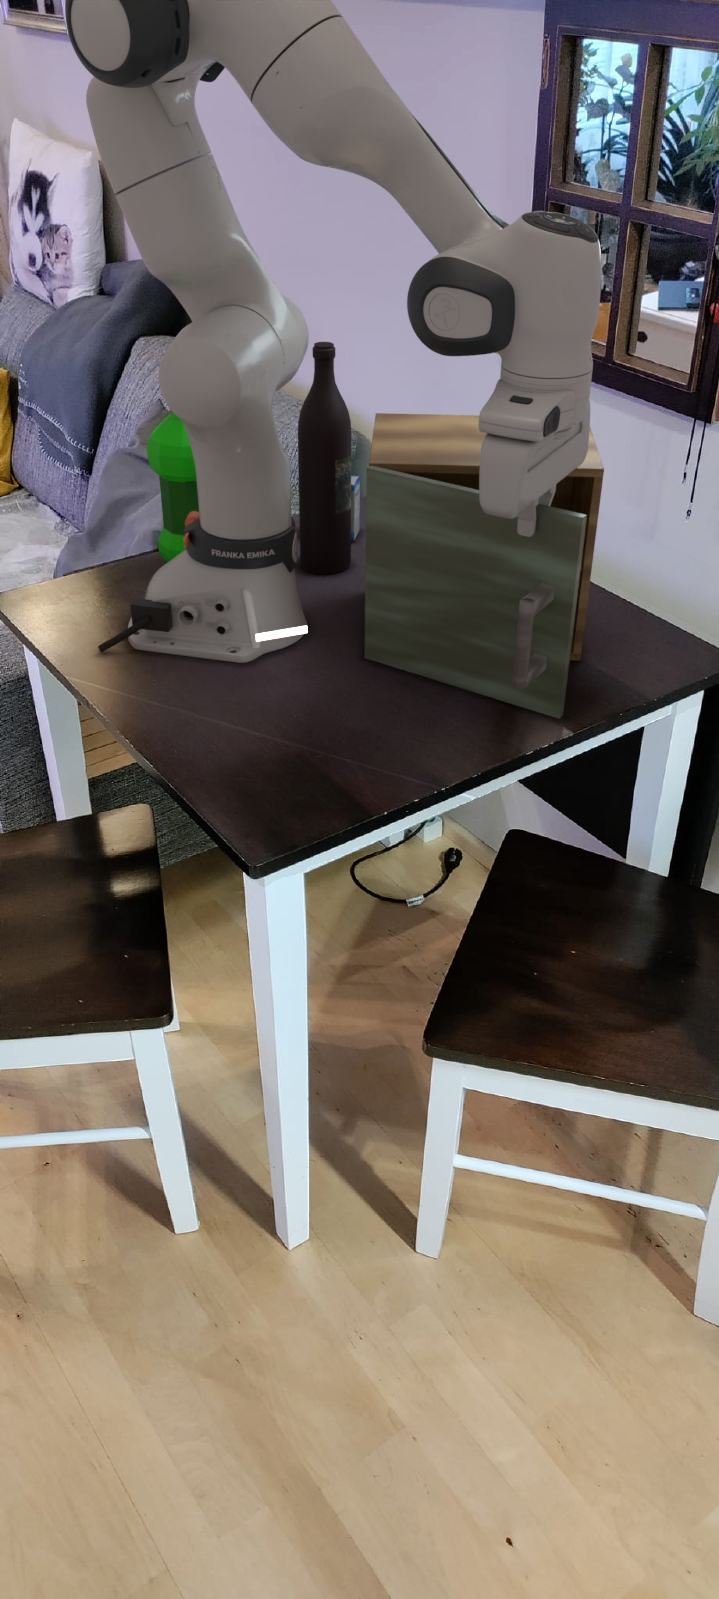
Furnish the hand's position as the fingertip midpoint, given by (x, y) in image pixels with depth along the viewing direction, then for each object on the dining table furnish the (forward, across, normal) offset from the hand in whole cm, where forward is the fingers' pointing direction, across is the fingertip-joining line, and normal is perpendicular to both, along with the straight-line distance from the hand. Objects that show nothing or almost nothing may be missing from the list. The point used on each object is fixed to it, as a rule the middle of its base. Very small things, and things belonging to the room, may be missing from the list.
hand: (532, 529), depth 127 cm
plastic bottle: (+21, -12, -54) cm, 59 cm away
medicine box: (+21, -32, -44) cm, 58 cm away
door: (+21, +2, -8) cm, 22 cm away
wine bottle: (+21, -22, -39) cm, 49 cm away
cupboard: (+21, -16, -13) cm, 29 cm away
